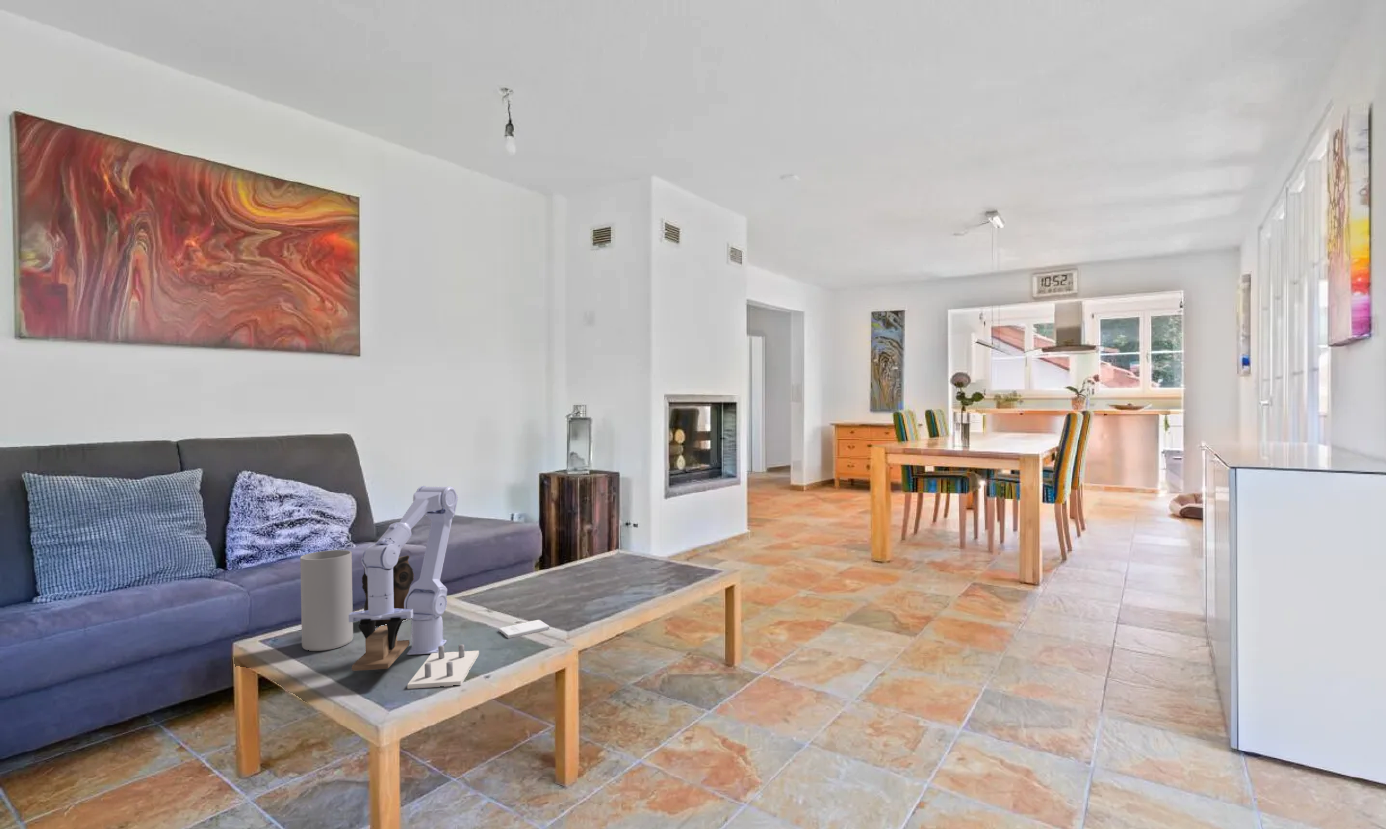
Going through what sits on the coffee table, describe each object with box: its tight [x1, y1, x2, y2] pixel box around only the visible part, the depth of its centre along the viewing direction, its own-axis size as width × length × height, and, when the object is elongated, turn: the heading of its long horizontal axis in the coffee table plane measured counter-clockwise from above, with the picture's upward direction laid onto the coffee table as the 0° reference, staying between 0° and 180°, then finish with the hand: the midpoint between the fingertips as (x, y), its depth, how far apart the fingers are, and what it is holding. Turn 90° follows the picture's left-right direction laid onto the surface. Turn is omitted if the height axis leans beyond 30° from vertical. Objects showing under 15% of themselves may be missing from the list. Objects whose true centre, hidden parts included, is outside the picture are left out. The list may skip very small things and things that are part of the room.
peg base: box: [407, 643, 480, 690], centre depth 163 cm, size 20×12×4 cm, turn 7°
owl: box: [361, 555, 415, 626], centre depth 202 cm, size 13×13×20 cm
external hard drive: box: [497, 619, 550, 639], centre depth 192 cm, size 2×8×12 cm
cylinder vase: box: [299, 549, 354, 652], centre depth 183 cm, size 12×12×25 cm
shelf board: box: [351, 625, 410, 672], centre depth 161 cm, size 16×8×6 cm, turn 7°
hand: (381, 649), depth 161 cm, fingers closed on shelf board, 4 cm apart
